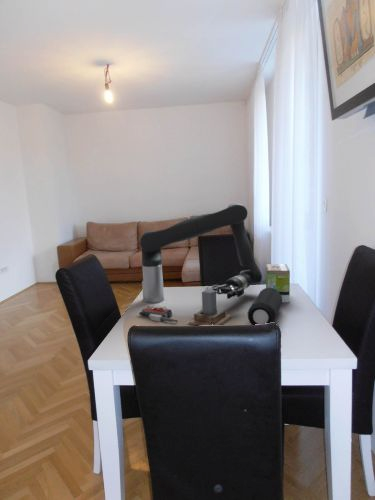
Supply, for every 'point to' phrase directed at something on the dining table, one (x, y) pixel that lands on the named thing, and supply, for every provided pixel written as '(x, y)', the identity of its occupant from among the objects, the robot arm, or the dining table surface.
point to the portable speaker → (265, 307)
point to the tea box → (279, 279)
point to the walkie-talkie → (157, 313)
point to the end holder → (209, 318)
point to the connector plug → (209, 301)
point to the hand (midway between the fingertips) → (218, 295)
